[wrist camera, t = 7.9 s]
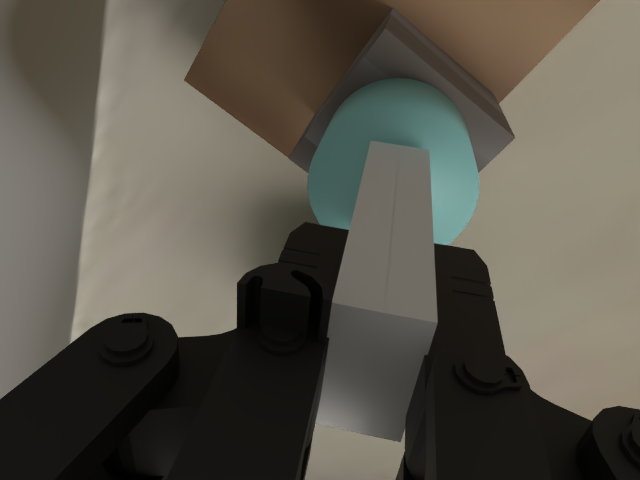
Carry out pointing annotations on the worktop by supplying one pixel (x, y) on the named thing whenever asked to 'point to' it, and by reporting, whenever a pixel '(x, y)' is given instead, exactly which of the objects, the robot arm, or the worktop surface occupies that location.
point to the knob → (401, 129)
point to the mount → (373, 60)
